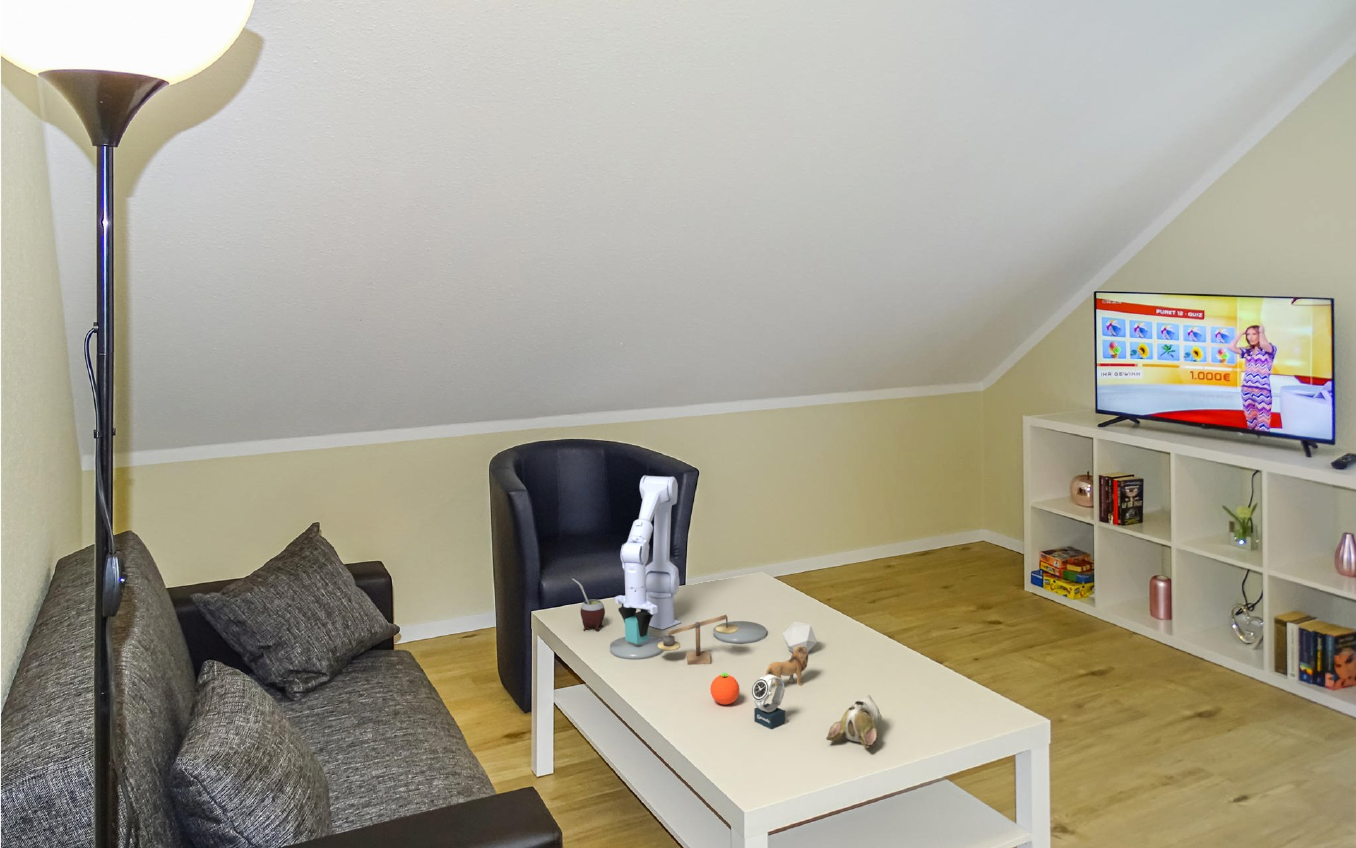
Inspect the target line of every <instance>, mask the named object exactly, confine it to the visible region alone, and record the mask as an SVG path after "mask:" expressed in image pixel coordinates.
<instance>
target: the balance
mask: <svg viewBox="0 0 1356 848" xmlns="http://www.w3.org/2000/svg"><path fill="white" fill-rule="evenodd" d="M724 620H725V623H726V624H722V623H719V624H720V625H719V624H717V625H716V626H715V627H716V631H717V632H719V633H723V634H731V633H735V632H737V631H738V626H736V625H734V624H728V622H729V621H728V616H727V614H724V615H720V616H717V617H713V618H710V619H707V620H703V621H696V622H695V623H692V624H689V625H685V626H682V627H679V628H676V629H672V630H668V632H667V634H666V635H664V636H663V637H662V639H663V640H662V642H660V643H658V648H659V649H660V650H664V651H663V652H665V651H666V652H668V651H669V652H671V651H676V650H679V649H680V648H681V643H680V642H679V641H677V640H676V638H675V634H679V633H683V632H686V631H690V630H692V629H695V650H694V651H686V661H687V665H709V664H711V656H710V650H701V627H704V626H708V625H710V624H714V623H716V622H721V621H724Z"/></svg>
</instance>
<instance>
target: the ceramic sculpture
mask: <svg viewBox="0 0 1356 848" xmlns="http://www.w3.org/2000/svg"><path fill="white" fill-rule="evenodd" d="M882 720H883V716H882V714H881V711H880V709H879V707H878V705H877V704H876V702H875V701H874V699H873V698H872V696H871V695H870V694H867V695H866V696H865V697H863V698H861V699H859V700H856V701H854V702H853V703H852V704H851V705H850V706H849V707H848V708H847V709H846V711H845V712H844V713H843V715H842V717H841V720H839V721H836V722H834V723H833V724H832V726H830V727H829V728H830V729H829V730H828V734H827V736H826V740H827V741H830V742H831V741H833V742H835V741H841V740H842V739H843V737H844V736H845V738H846V739H847V740H849V741H851V742H856V743H860V744H861V745H862V746H864V747H865V748H867V749H870V748H873V746H875V745H876V742H877V740H878V736H879V735H878V734H879V732H878V731H879V730H878V728H879V727H880V725H881V724H882Z"/></svg>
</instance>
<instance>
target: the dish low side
mask: <svg viewBox="0 0 1356 848" xmlns="http://www.w3.org/2000/svg"><path fill="white" fill-rule="evenodd" d="M662 641H663V640H662V639H661V638H658V637H656V636H653V635H652V636H651V635H649V640H646V641H644V642H641V643H639V644H635V643H632V642H629V641H626V640H625V636H623V637H619V638H617V639H615V640H613V641H612V642H610V644H609V652H610V654H611V655H613V656H614V657H617V658H619V659H625V660H643V659H645V660H646V659H650V658H655V657H657V656H660V655H661V654H662V653H664V652H665V651H664V650H660V649H659V648H658V643H660V642H662Z"/></svg>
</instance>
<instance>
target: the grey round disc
mask: <svg viewBox="0 0 1356 848" xmlns="http://www.w3.org/2000/svg"><path fill="white" fill-rule="evenodd" d="M720 624H726V622H723V623H719V624H718V625H720ZM728 624H734V625H736V626H738V631H737V632H735V633H731V634H723V633H719V632H717V631H716V626H715V627H714V628H713V629H712V631H713V632H712V633H713V637H714V638H715V639H716V640H717V641H721V642H723V643H729V644H737V645H738V644H739V645H740V644H741V645H742V644H750V643H751V644H752V643H756V642H759V641H762V640H764V639H765V638H766V637H767V628H766V627H765V626H764V625H763V624H760V623H757V622H753V621H744V620H741V621H740V620H737V621H728Z"/></svg>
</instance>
